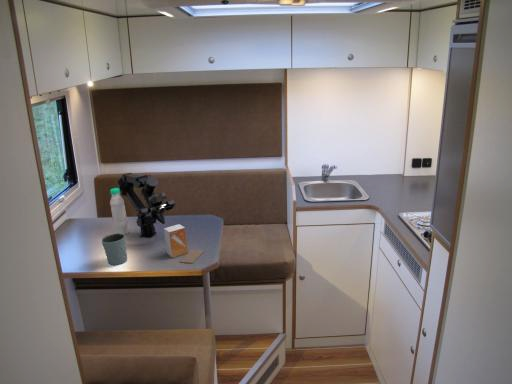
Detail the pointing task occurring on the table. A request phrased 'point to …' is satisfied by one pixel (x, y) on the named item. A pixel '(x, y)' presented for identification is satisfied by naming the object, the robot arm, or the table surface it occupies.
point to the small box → (175, 240)
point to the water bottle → (118, 212)
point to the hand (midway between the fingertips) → (164, 223)
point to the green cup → (115, 248)
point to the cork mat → (191, 256)
